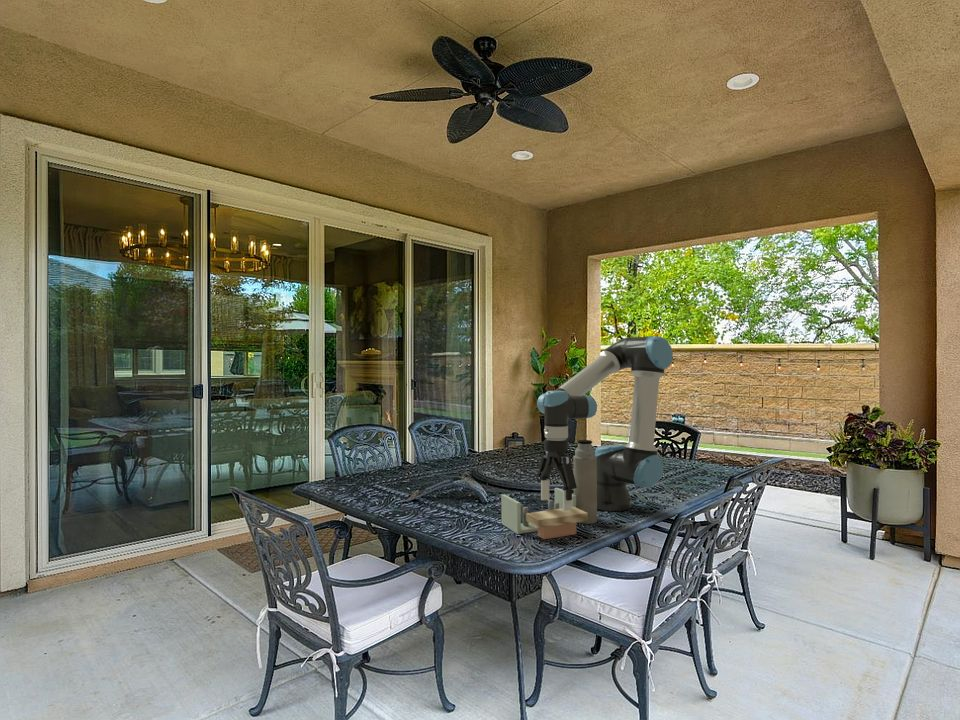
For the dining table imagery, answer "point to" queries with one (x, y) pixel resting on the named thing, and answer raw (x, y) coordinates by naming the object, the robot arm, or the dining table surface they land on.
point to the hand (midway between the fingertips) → (555, 504)
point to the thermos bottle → (586, 480)
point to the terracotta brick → (557, 531)
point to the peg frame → (516, 512)
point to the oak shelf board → (556, 517)
